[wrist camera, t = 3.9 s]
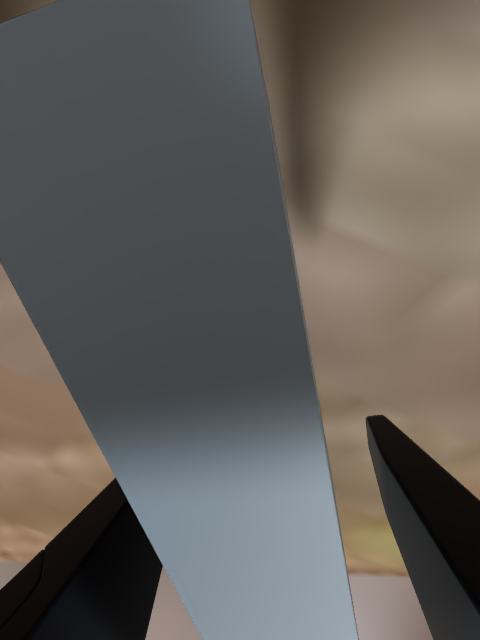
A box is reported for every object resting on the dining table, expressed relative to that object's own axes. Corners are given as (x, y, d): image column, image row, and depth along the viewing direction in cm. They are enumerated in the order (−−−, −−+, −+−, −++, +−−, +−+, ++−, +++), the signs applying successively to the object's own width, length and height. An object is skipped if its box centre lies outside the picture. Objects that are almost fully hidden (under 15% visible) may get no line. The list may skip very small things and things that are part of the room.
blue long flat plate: (267, 95, 10) (237, -68, 2) (334, 491, 16) (379, 764, 9) (165, 124, 10) (-106, 64, 3) (270, 496, 17) (265, 757, 9)
